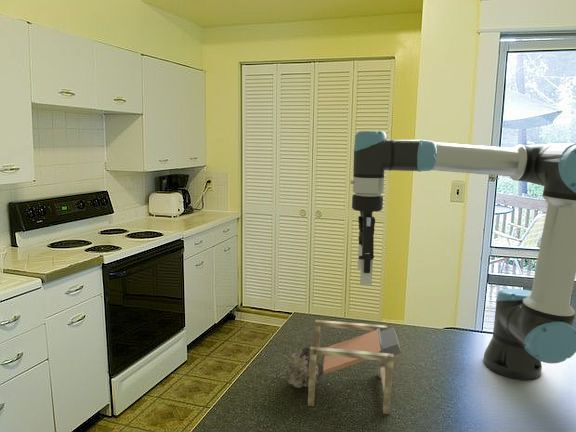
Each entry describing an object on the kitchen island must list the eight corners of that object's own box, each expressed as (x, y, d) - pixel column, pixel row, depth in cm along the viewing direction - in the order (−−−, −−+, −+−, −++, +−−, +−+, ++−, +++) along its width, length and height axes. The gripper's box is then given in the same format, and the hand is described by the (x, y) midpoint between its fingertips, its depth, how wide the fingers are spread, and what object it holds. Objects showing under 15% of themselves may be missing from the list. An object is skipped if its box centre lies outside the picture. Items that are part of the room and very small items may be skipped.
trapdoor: (396, 331, 118) (392, 322, 118) (402, 356, 104) (398, 346, 104) (329, 354, 121) (325, 346, 121) (327, 382, 108) (322, 372, 108)
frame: (383, 375, 122) (387, 325, 120) (389, 414, 105) (394, 356, 102) (313, 368, 125) (315, 319, 122) (307, 405, 107) (310, 349, 105)
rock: (328, 376, 106) (288, 363, 107) (316, 408, 111) (278, 395, 112) (332, 350, 114) (295, 338, 115) (321, 381, 119) (285, 369, 120)
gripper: (351, 188, 123) (348, 262, 126) (354, 200, 98) (350, 292, 102) (378, 189, 122) (375, 263, 125) (388, 201, 97) (384, 293, 101)
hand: (364, 276), depth 114 cm, fingers open, 13 cm apart
